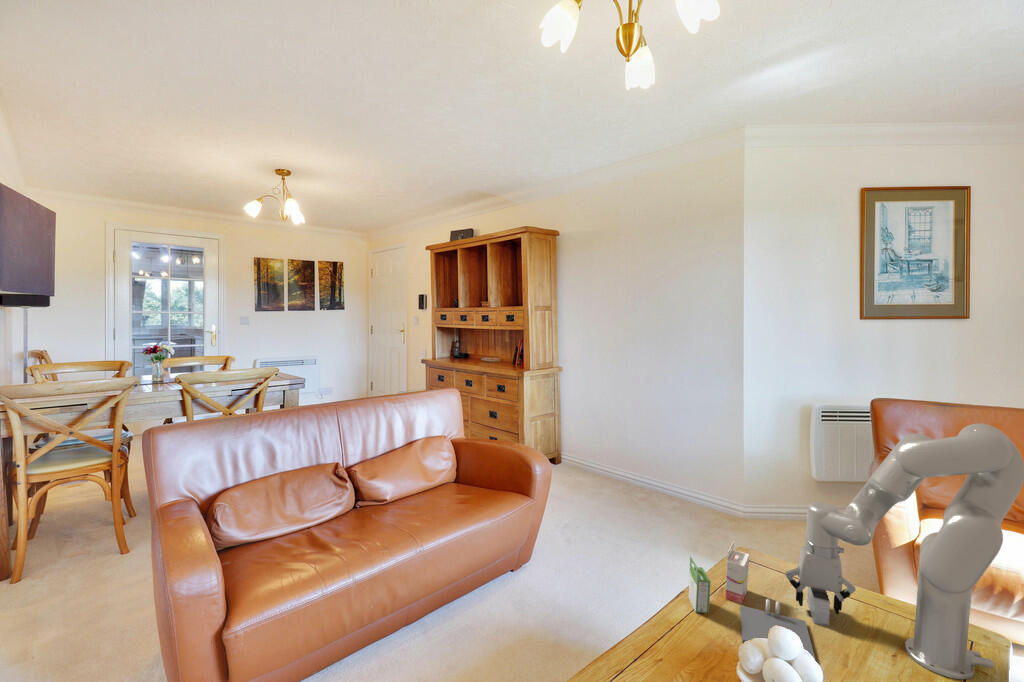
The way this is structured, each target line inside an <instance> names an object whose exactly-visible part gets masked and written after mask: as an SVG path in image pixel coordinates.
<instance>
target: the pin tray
mask: <svg viewBox="0 0 1024 682" xmlns="http://www.w3.org/2000/svg"><path fill="white" fill-rule="evenodd" d="M739 606H740V607H739V608H740V609H739V610H740V613H739V614H740V625H741V626H740V627H741V641H742V644H744V643H743V642H745V641H748V640H751V639H753V638H768V633H769V630H770V628H772V627H773V626H775V625H778V626H782V627H785V628H787V629H790V630H792V631H793V632H795V633H796V634H797V635H798V636H799V637H800V639H801V641H802V643H803V647H804V649H805V650H807V651H808V652H809V653H810V654H811V655H812V656H813V657H814V658H815V659H816V655H815V653H814V649H813V645H812V642H811V637H810V634H809V631H808V626H807V622H806V620H803V619H799V618H794V617H791V616H786V615H782V614H780V612H781V609H780V607H781V602H780V601H778V600H777V601H775V612H771V609H770V608H771V600H770V599H768V598H765V610H761V609H756V608H753V607H749V606H746V605H742V604H741V605H739Z"/></svg>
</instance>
